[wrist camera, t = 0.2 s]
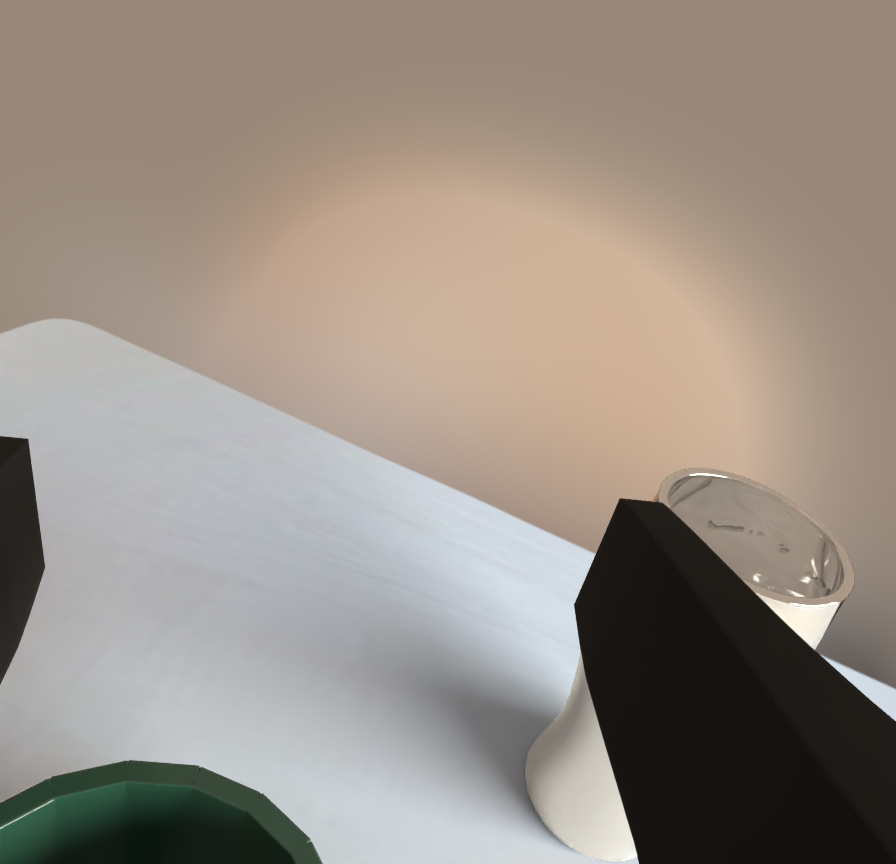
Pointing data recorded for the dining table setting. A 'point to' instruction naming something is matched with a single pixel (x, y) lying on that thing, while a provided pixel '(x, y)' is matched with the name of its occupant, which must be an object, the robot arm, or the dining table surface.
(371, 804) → the dining table surface
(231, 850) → the pot
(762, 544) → the beer glass
